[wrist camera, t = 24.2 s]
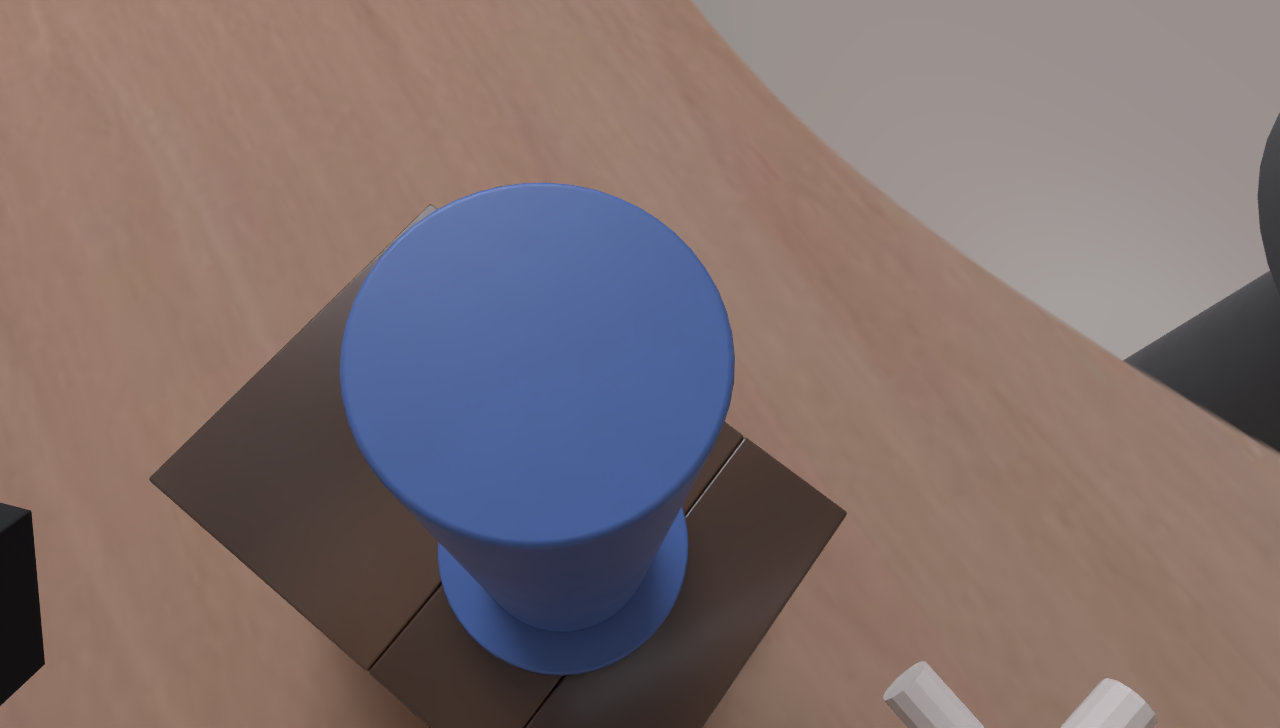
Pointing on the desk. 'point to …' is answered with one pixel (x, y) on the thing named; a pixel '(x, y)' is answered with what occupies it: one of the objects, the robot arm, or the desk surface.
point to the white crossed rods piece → (941, 724)
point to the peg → (543, 412)
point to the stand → (408, 556)
